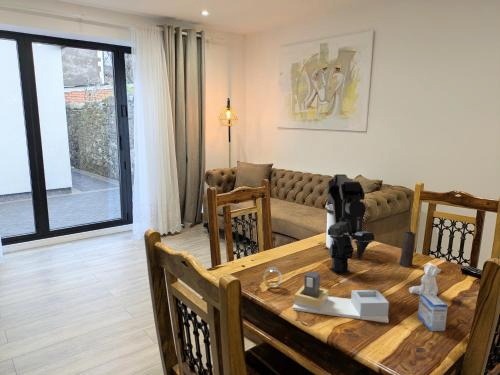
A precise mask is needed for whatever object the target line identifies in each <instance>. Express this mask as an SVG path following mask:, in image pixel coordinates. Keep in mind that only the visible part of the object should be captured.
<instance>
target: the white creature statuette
mask: <svg viewBox="0 0 500 375" xmlns="http://www.w3.org/2000/svg"><path fill="white" fill-rule="evenodd" d="M423 269H424V271H423V272H424V274H423V276H422V277H421V279H420V282H421V284H420V285H415V286H413V285H412V287H411V286H410V287H409V288H408V292H409V293H410V294H413V295H418V296H420V293H433V294H434V295H436V296H437V295H438V292H439V287H438V285H437V278H436V276H438V275H437V274H439V273H441V271H442V269H439V268H438V266H437V265H436V264H433V263H430V262H426V265H425V266H424V267H423Z"/></svg>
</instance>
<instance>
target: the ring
mask: <svg viewBox="0 0 500 375" xmlns="http://www.w3.org/2000/svg"><path fill="white" fill-rule="evenodd" d="M273 272H275V273H277V274H278V275H279V276H278V277H279V280H278V282H277V283H275V284H273V283H272V284H269V283H268V282H267V281H266V277H267V276H268V275H270V274H271V273H273ZM262 279H263V283H264V285H265V286H267V287H269V288H271V287H274V288H277V287H278V286H279V285H280V284H281V282H282V280H283V277H282V274H281V271H280V270H278V267H275V266H271V267H269V268H268V269H266V270H265V271H264V273H263V278H262Z"/></svg>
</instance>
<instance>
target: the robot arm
mask: <svg viewBox="0 0 500 375" xmlns="http://www.w3.org/2000/svg"><path fill="white" fill-rule="evenodd" d="M326 194H328V198H329V199H330V201H331V202H332V203H333V213H334V225H332V226H330V227H329V229H328V235H331V236H330V237H331V238H333V241H332V244H331V246H330V249H329V248H328V255H329V257H330V259H332V261H331V263H332V264H331V267H329V268H328V270H330V271H331V272H333V273H334V274H336V275H343V274H347V273H351V270H350V269H349V262H348V261H349V259H350V260H351V259H352V258H353V253H354V252H353V250H354V249H355V248H354V247H353V243H352V244H351V238H350V237H349V236H351V237H355V240H354V243H355V245H356V258H357V260H361V259H362V256H363V254H364V253H365V251H366V249H367V247H368V246H369V244H370V243H372V241H375V233H373V232H372V231H366V230H365V231H363V230H362V232H360V230H361V229H358V225H359V221H361V218H359V217H361V216H363V217H364V215H365V213H366V211H367V210H366V209H367V208H366V206H365V203H363V202H362V201H364V200H365V195H366V194H365V192H364V188H363V187H362V184H361V182H360V181H359V180H351V179H350V178H349V177H348V176H347V174H344V173H343V174H340V173H339V174H334V175H333V178H331V179H330V180H329V181H328V182H327V186H326ZM361 200H362V201H361ZM347 232H348V233H347ZM354 251H355V250H354Z"/></svg>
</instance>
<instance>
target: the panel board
mask: <svg viewBox="0 0 500 375" xmlns="http://www.w3.org/2000/svg"><path fill="white" fill-rule="evenodd" d="M296 310H297V311H298V312H306V313H312V314H313V313H314V314H319V311H318V310H314V309H311V308H307V307H303V306H300V305H296V304H294V303H293V305H292V311H296ZM320 315H327V316H332V317H333V316H335V317H343V318H350V319H357V320H362V321H363V320H364V321H372V322H373V321H374V322H378V323H387V324H388V323H389V315H388V316H362V318H361V319H360V315H359V314H358V312H357V311H356V309H355V308H354V306H353V305H352V303H351V298H344V297H336V296H329V297H328V301H327V302H326V303H325V305H324V306H323V307H322V308H321V310H320Z"/></svg>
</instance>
